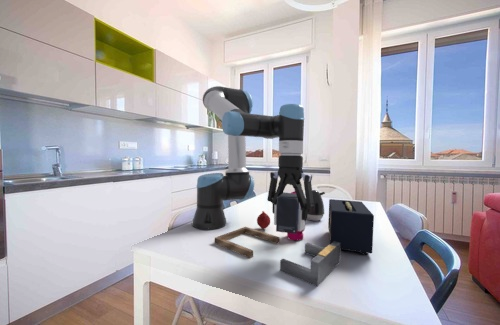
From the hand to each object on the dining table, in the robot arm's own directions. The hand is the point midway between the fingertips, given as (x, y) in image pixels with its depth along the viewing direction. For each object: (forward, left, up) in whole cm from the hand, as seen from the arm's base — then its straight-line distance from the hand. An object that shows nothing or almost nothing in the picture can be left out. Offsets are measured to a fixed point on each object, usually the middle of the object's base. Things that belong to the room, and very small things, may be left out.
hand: (288, 226), depth 69 cm
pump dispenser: (-12, +46, -10) cm, 49 cm away
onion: (-22, +16, -10) cm, 29 cm away
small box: (0, 0, -1) cm, 1 cm away
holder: (-17, 0, -10) cm, 20 cm away
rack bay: (+8, 0, -10) cm, 13 cm away
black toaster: (+10, +26, -10) cm, 30 cm away
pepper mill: (-7, +17, -10) cm, 21 cm away
